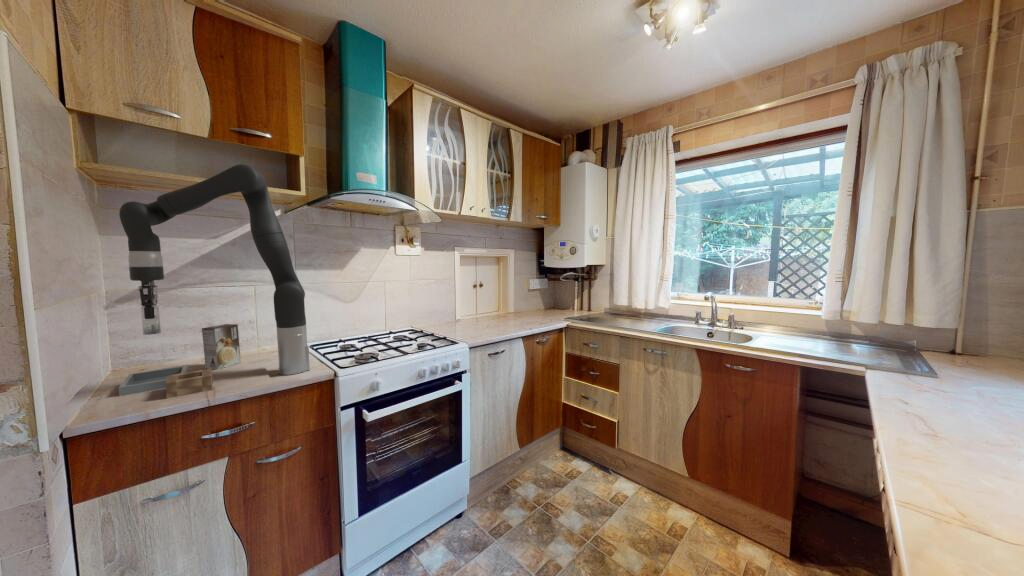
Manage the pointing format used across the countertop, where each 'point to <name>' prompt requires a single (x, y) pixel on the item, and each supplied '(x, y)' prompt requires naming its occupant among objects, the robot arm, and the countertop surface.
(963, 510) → the countertop surface
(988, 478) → the countertop surface
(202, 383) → the pin block
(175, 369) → the tray
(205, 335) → the coffee box
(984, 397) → the countertop surface
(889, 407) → the countertop surface
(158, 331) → the pin
